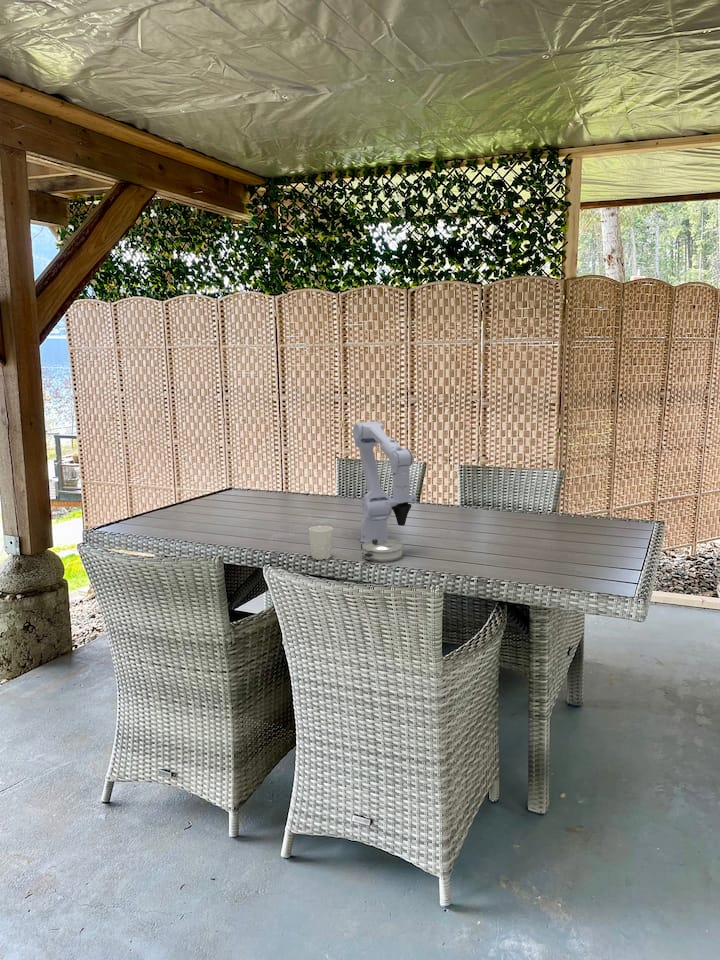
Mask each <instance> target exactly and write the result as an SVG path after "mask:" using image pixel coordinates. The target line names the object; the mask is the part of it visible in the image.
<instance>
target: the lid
mask: <svg viewBox="0 0 720 960" xmlns="http://www.w3.org/2000/svg"><path fill="white" fill-rule="evenodd" d="M362 544H363V545H362V549H361V550H365V551H368V552H374V553H388V552H395V551H398V550H401V549H402V550H403V548H404V544H403V542H401V541H399V540H396V539H395V540H393V539H391V540H377V539H373V540H372V541H369V542H366V543H365V542H363V543H362Z"/></svg>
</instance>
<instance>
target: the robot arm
mask: <svg viewBox="0 0 720 960" xmlns="http://www.w3.org/2000/svg"><path fill="white" fill-rule="evenodd" d="M352 428H353V429H352V434H353V435H352V437H353V439H354V444H355V447H356V448H358V450H359V454H360V455H359V456H360V461H361V466H362V471H363V475H364V481H365V486H366V491H367V493H365V495H364V496H363V497H362V500H361V502H362V503H361V505H362V506H361V510H362V515H363V516H364V517H363V519H362V520H361V524H360V528H361V529H360V540H359V542H360V541H361V543H366V542H369V541H372V540H373V539H377V540H392V539H390V538H388V533H389V532H388V519H390V516H391V515H392V513H393V514H394V515H395V519H396V522H397V526H403V527H404V526H406V521H407V518H408V514H409V512H410V511H411V508H412V504H411V503H412V502H417V500H418V499H417V495H415V494H411V491H410V489H411V488H410V486H411V485H410V484H411V483H410V481H411V480H410V467H411V466H412V465H413V462H414V457H413V456H414V455H413V453H412V452H411V451H412V450H410V449H409V448H403V447H402V446H401V445H400V444H399V443H398V442H397V441H396V439H395V438H390V437H389V436H388V435H387V433H386V432H385V431H384V424H383V423H382V422H381V421H380V420H378V421H366V422H357V421H356V422H355V423H354V425H353V427H352ZM378 445H380V449H381V451H382V452H383V454H384V455H385V456H386V458H388V463H389V465H390V466H389V467H390V471H391V473H392V498H390V496H389V494H388V493H386V492H385V491H383V490H382V487H381V481H380V477H379V472H378V466H377V462H376V458H375V457H376V456H375V453H374V448H375V447H377V446H378Z"/></svg>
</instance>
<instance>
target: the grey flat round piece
mask: <svg viewBox="0 0 720 960" xmlns="http://www.w3.org/2000/svg"><path fill="white" fill-rule="evenodd" d="M363 544H364V543H361V544H360V550H363V549H362V545H363ZM362 553H363V559H364V558H365V559H367V560H366V561H368V560H370V561H369V562H372V561H376V562H375V563H388V562H387V561H392V562H396V561H395V560H397V561H400V560H401V559H402V558H403V548H402V549H401V550H398V551H395V552H388V553H374V552H368V551H365V550H363V552H362ZM365 559H364V560H365Z"/></svg>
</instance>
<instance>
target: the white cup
mask: <svg viewBox="0 0 720 960" xmlns="http://www.w3.org/2000/svg"><path fill="white" fill-rule="evenodd" d="M333 531H334V529H333V527H332V526H330V525H329V526H328V525H318V526H317V525H316V526H312V527H309V528H308V532H309V543H310V550H311V558H312V559H313V560H318V561H323V559H325V560H328V559H327V558H329V557H331V556H333V539H334V538H333V534H334V533H333ZM331 558H332V557H331ZM329 559H330V558H329Z"/></svg>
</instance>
